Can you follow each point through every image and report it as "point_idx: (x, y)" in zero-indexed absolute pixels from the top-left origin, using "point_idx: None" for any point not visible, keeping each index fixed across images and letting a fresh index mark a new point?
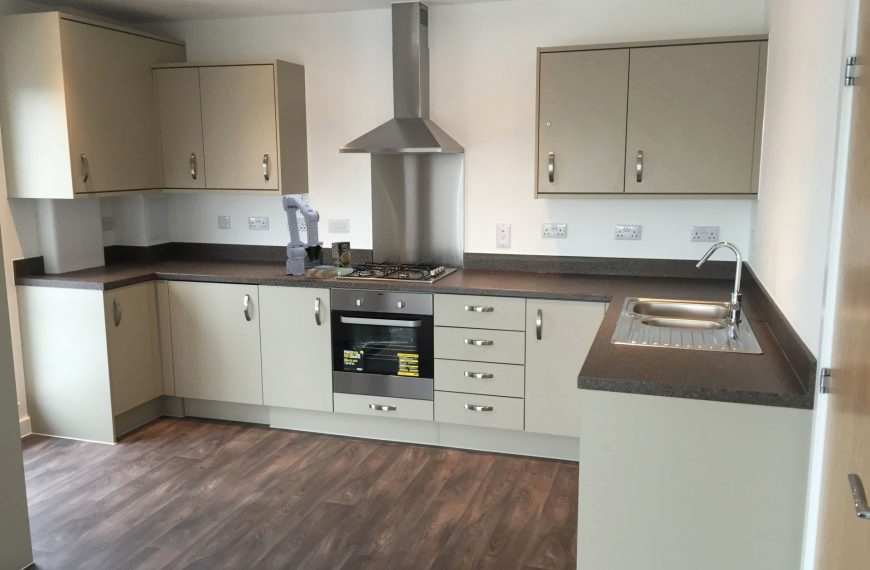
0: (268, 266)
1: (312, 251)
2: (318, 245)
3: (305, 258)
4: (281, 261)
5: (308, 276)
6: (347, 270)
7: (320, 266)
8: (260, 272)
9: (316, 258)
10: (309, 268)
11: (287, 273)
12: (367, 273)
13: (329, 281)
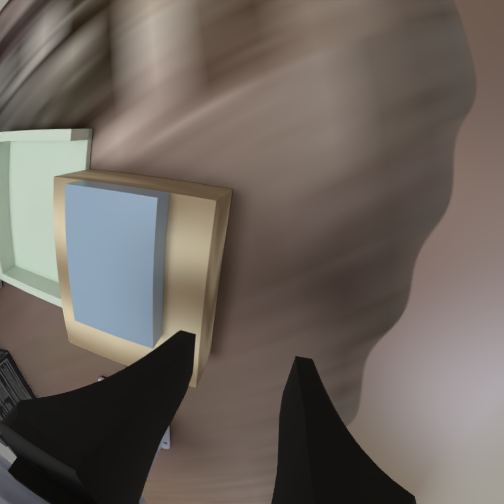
0: None
1: (376, 469)
2: (46, 494)
3: None
4: None
5: (210, 341)
6: (29, 130)
7: (113, 307)
8: (154, 494)
9: (187, 363)
10: (27, 389)
11: (161, 446)
12: (18, 49)
13: (376, 87)
